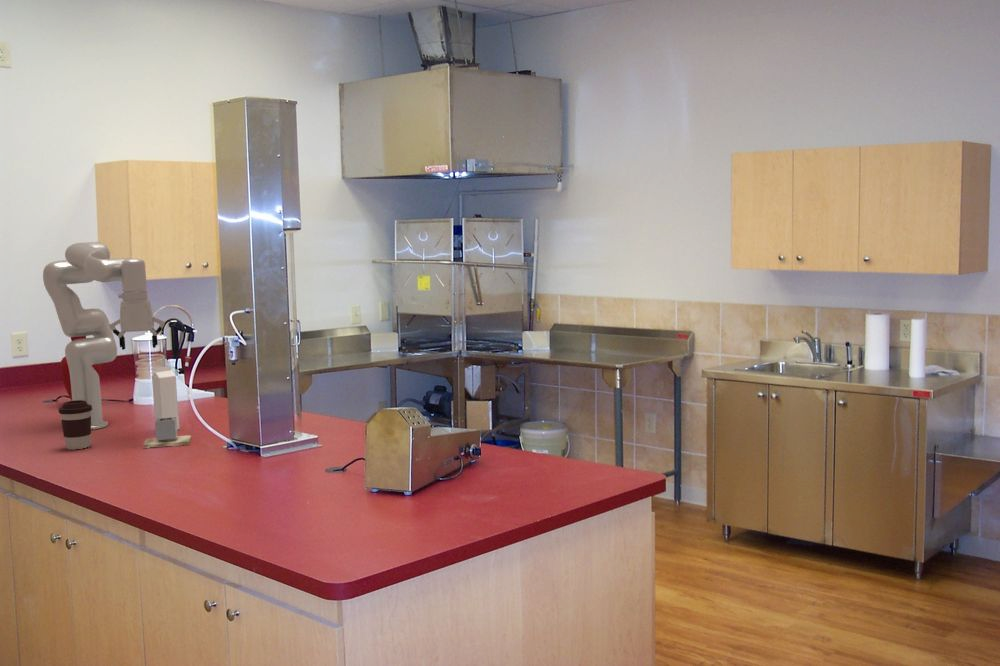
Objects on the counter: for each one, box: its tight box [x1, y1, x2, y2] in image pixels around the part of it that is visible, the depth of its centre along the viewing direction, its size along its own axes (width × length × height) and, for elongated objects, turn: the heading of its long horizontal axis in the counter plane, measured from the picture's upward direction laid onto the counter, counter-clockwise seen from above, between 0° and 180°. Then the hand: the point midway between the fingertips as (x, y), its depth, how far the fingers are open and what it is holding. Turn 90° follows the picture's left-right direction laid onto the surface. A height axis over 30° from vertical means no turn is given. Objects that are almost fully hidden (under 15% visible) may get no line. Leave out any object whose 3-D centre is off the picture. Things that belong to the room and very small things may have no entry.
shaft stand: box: [143, 419, 192, 449], centre depth 335 cm, size 14×10×8 cm
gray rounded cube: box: [154, 417, 178, 440], centre depth 335 cm, size 6×6×6 cm
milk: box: [151, 365, 180, 431], centre depth 357 cm, size 6×6×22 cm
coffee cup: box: [58, 400, 92, 451], centre depth 333 cm, size 10×10×15 cm
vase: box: [60, 336, 102, 401], centre depth 410 cm, size 15×15×30 cm
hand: (139, 348), depth 342 cm, fingers open, 9 cm apart
